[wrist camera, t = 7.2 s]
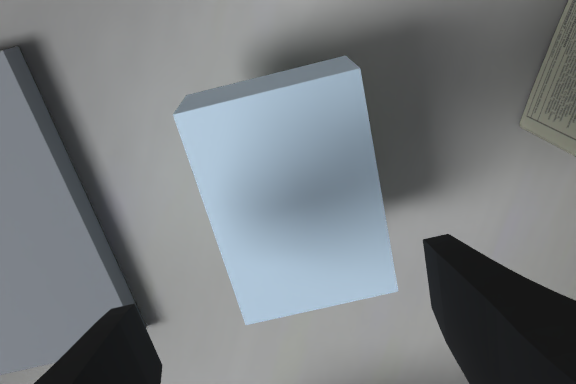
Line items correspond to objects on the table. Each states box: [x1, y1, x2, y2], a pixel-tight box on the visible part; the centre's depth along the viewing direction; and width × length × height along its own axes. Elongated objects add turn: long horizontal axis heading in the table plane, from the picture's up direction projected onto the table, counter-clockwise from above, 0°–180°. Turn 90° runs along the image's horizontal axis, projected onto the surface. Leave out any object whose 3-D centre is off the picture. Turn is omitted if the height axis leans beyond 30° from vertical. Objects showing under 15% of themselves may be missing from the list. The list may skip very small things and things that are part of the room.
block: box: [173, 55, 398, 325], centre depth 17 cm, size 8×6×3 cm
